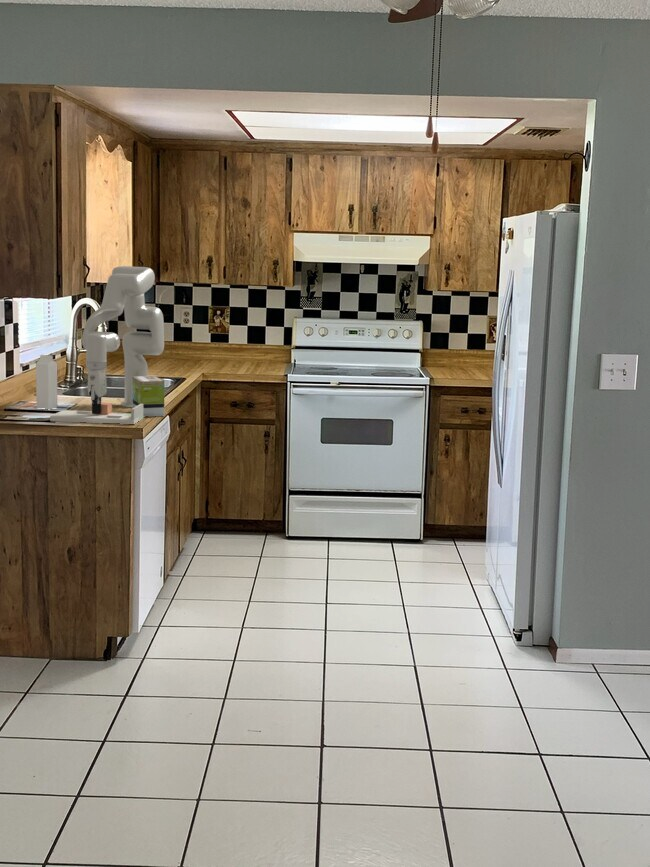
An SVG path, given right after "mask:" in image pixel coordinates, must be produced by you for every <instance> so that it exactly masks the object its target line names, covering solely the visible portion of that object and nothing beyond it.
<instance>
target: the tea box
mask: <svg viewBox="0 0 650 867" xmlns="http://www.w3.org/2000/svg"><path fill="white" fill-rule="evenodd" d="M132 384H133V408H134V407H136V406H138V405H139V404H143V416H156V417H157V418H159V417H164V416H165V381H164V380H163V379H161V378H160V377H158V376H156V375H149V376H148V375H147V376H139V377H133V378H132Z"/></svg>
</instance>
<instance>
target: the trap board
mask: <svg viewBox="0 0 650 867" xmlns="http://www.w3.org/2000/svg"><path fill="white" fill-rule="evenodd" d="M49 419H50V420H49V421H50V422H60V423H61V422H62V423H63V422H65V423H80V422H86V423H87V424H102V423H120V424H119V425H124V424H135V423H136V424H138V423H139V422H141V421H142V420H144V417H143V404H139V405H138V406H136V407H134V408H132V407H131V409H130V413H129V412H115V411H114V412H113V411H112V413H111V414H109V415H99V414H92V410H90V411H89V410H87V411H86V410H67V409H62V410H60V411H58V412H56V413H54V414H52V415H50V416H49ZM141 419H142V420H141ZM140 420H141V421H140ZM138 421H139V422H138ZM137 422H138V423H137ZM86 423H85V424H86ZM136 424H135V425H136Z"/></svg>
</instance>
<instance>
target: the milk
mask: <svg viewBox="0 0 650 867" xmlns="http://www.w3.org/2000/svg"><path fill="white" fill-rule="evenodd" d="M39 356H40V357H39V359H38V360H37V362H36V363H35V377H36V378H35V380H36V381H35V384H36V385H35V387H36V388H35V391H36V396H35V397H36V400H35V401H36V409H37V408H45V409H52V408H56V407H58V405H59V404H58V362H56V361H55V360H54V359H53V358H54V356H53V355H47V354H46V355H45V354H40V355H39Z"/></svg>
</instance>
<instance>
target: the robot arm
mask: <svg viewBox="0 0 650 867" xmlns="http://www.w3.org/2000/svg"><path fill="white" fill-rule="evenodd" d="M155 279H156V277H155V272H154V270H153V269H152V268H150V267H146V266H131V265H130V266H128V265H122V266H121V265H119V266H116V267H114V268H113V269H112V271H111V275H110V276H109V277H108V280H107V282H106V287H105V291H104V293H103V294H104V295H103V299H102V303H101V306H100V307H99V308H98V309H96V310H95V311H94V312H93V313H91V315H90V316H89V317H88V319H86V322H85V323H84V326H83V327H84V328H83V332H82V337H81V344H82V347H83V348H84V350H85V351H86V352H85V354H86V356H85V357H86V358H85V365H86V366H85V367H86V368H85V369H86V371H87V372H88V373H87V395H88V396H89V397H90V400H91V411H92V414H101V402H102V397H103V396H105V395H107V392H108V391H107V388H108V387H107V386H108V385H107V373H106V371H107V361H108V360H107V352H110V353H111V352H112V353H113V352H115V351H117V350H118V349H120V348H119V347H120V346H121V338H120V337H119V335H118V334H117V333H115V332H112V331H111V332H110V331H108V332H107V331H98V330H97V328H98V327H99V326H100V325H101V324H103V323H105V322H108V321H110V320H113V319H115V318H117V317H119V316H122V314H123V313H124V322H125V325H126V327H128V328H130V329H134V330H135V329H137V330H149V331H150V332H148V331H137V330H136V331H133V330H132V331H128V332H126V333H125V334H124V335H123V336H122V349H123V358H124V401H122V402H120V406H121V407H125V408H131V409H132V408H133V384H132V378H133V377H139V376H148V367H149V366H148V362H147V361H146V359H145V357H144V356H145V355H146V356H160V355H161V354H162V353H164V350H165V326H164V325H165V322H164V314H163V312H162V310H161V309H160V308H159V307H156V306H146V300H145V299H146V298H145V293H146V292H148V291H149V290H150V289H151V288H152V287H153V286H154V285H155V284H154V283H155ZM96 330H97V331H96ZM143 355H144V356H143Z"/></svg>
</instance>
